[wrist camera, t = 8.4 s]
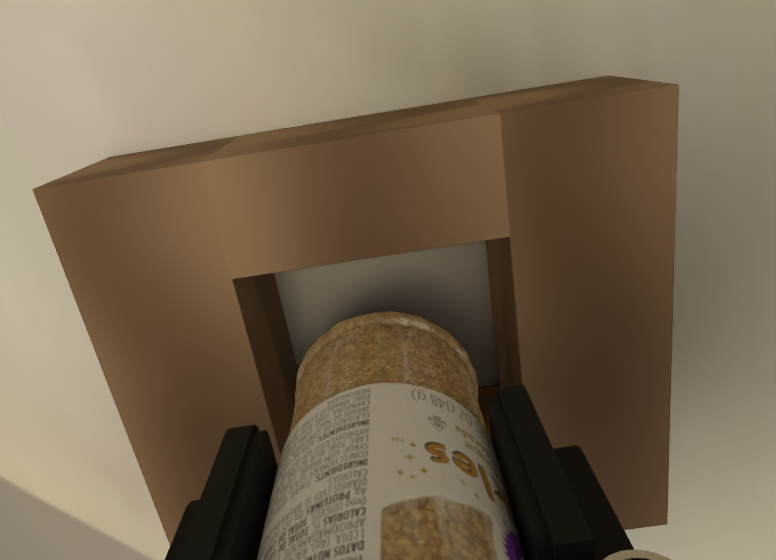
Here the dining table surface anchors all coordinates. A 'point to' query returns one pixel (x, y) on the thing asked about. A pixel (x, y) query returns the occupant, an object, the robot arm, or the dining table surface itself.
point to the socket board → (387, 237)
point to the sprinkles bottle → (388, 452)
